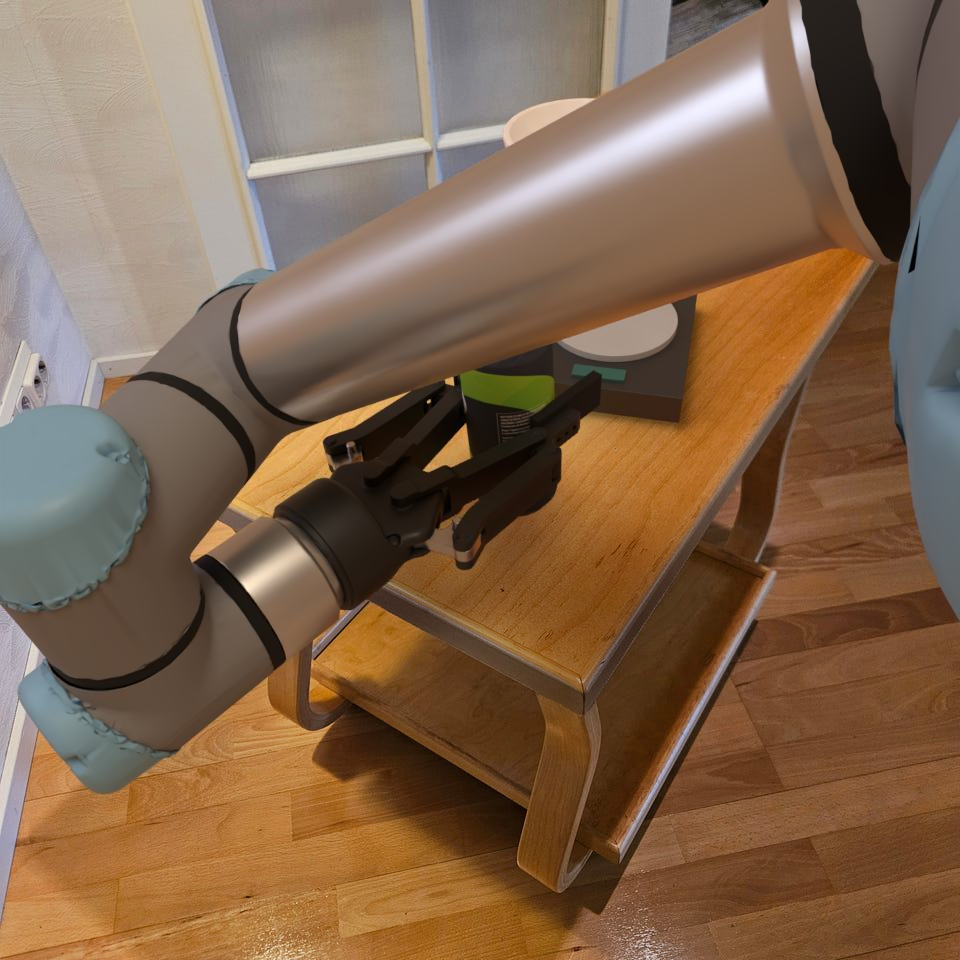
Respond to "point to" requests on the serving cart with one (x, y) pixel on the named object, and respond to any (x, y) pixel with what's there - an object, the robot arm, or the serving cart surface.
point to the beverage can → (507, 401)
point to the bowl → (539, 118)
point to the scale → (633, 361)
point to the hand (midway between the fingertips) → (568, 373)
